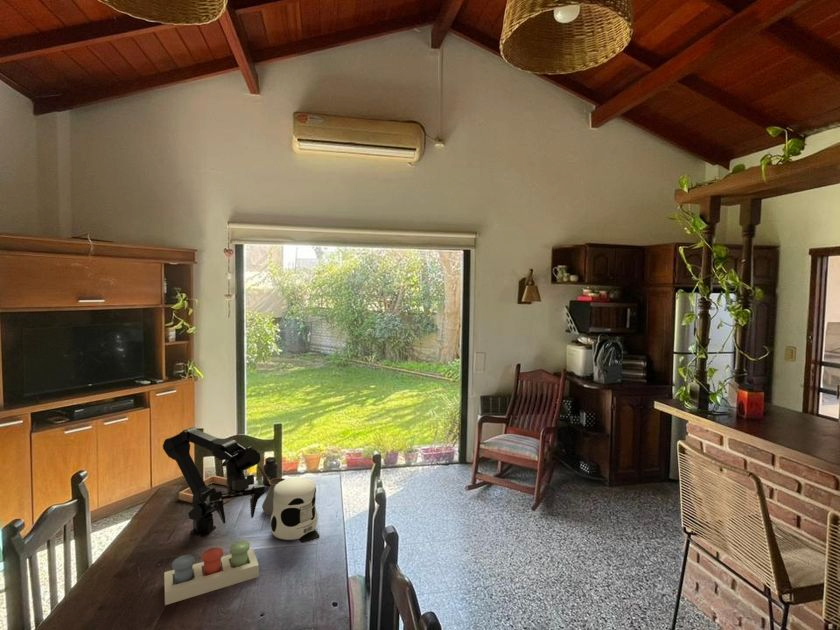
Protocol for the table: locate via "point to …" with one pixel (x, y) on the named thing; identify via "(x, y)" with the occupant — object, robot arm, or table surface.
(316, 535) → the phone
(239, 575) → the button console
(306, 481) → the milk container
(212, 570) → the red button
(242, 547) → the sage green button
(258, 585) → the table surface
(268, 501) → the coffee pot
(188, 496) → the square wooden frame
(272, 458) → the supplement bottle
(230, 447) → the robot arm
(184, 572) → the slate blue button
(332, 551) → the table surface
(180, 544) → the table surface
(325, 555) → the table surface
